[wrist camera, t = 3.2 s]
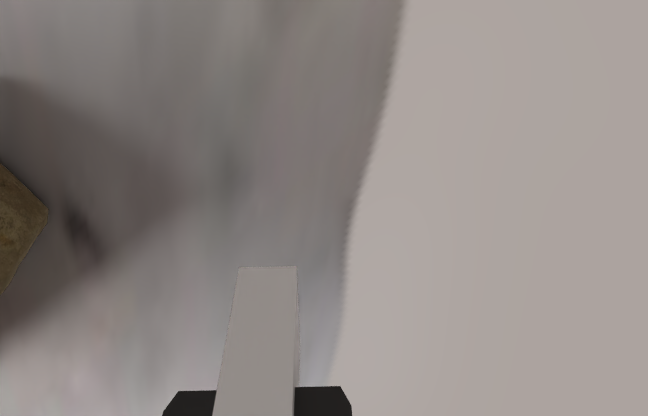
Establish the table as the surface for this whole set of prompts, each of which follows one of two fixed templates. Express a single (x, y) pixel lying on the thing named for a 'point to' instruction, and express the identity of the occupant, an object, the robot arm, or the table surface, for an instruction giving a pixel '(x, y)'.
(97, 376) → the table surface
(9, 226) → the stone block
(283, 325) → the robot arm
